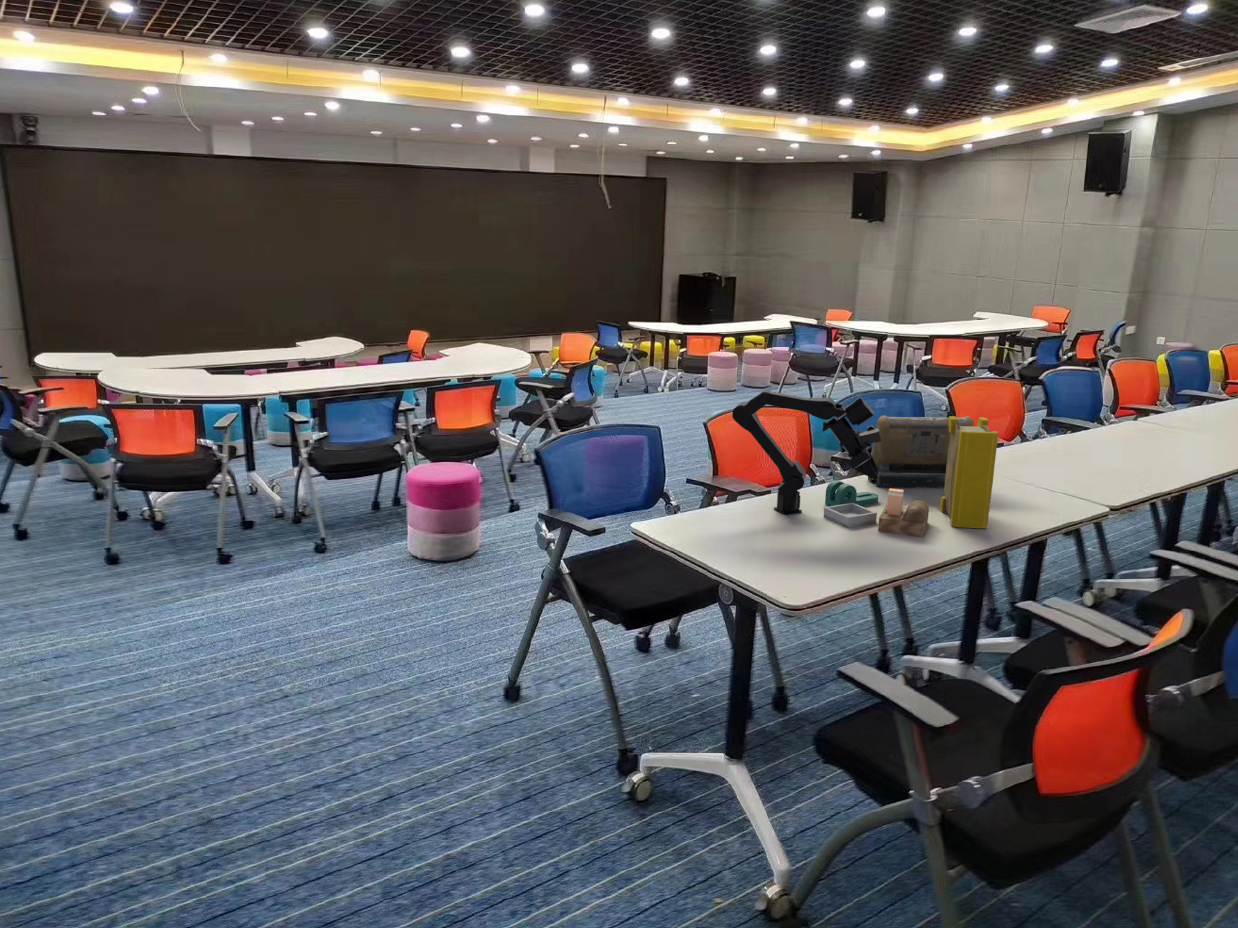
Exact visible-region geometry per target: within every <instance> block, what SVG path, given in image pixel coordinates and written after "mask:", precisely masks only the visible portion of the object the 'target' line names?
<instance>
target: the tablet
mask: <svg viewBox="0 0 1238 928" xmlns="http://www.w3.org/2000/svg"><path fill="white" fill-rule="evenodd" d="M957 419H958V423H960V426H971V427H974V424H975V422H974V419H973V418H972V417H971V416H968V415H966V416H964V417H963V416H962V417H957ZM876 422H877V423H876V428H878V429H879V431H880V434H881V438H882V439H881V440H882V441H880V442H875V443H872V452H871V455H872V457H873V459H874V461H875V464H876V466H877V468H878V471H877V472H875V473H876V475H877V477H878V479H877V480H876V485H875V487H877V488H892V489H944V487H945V476H946V466H947V456H948V449H949V442H950V436H951V433H950V432H949V424H948V422H949V417H937V416H936V417H934V416H928V417H927V416H926V417H925V416H923V417H922V416H917V417H916V416H911V417H910V416H909V417H908V416H905V417H904V416H903V417H901V416H899V417H898V416H887V415H880V417H879V418H878V420H877V421H876ZM876 428H875V429H876ZM867 480H868V482H872V481H873V479H871V478H870V477H868V476H867Z"/></svg>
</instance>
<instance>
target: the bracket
mask: <svg viewBox="0 0 1238 928" xmlns="http://www.w3.org/2000/svg"><path fill="white" fill-rule="evenodd" d="M848 503H854V504H857V505H859V506H862V507H865V506H869V505H870V506H871V505H875V504H876V505H877V504H878V503H879V494H877V493H875V492H869V491H859V492H857V488H856V487H855V486H854V485H850V484H848V483H844V482H842V481H840V480H836V479H835V480H832V481H830V482H829V483H828V484H827V487H826V489H825V501H824V504H825V506H826V507H830V506H836V505H842V504H848Z"/></svg>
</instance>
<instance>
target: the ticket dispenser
mask: <svg viewBox="0 0 1238 928" xmlns="http://www.w3.org/2000/svg"><path fill="white" fill-rule="evenodd" d="M929 512H930V511H929V506H928V504H927V503H926V502H924V501H923V500H913V501H912V502H911V503H909V504H906V506H902V516H899V515H891V514H887V504H886V505H885V506H884V509H883V510H882V512H881V514H880V516H879V517H878V525H877V526H878V528H877V531H878V532H882V533H883V532H884V533H891V534H898V535H904V536H905V535H906V536H910V537H911V536H912V537H920V538H923V535H924V533H925V531H926V528H927V525H928V521H929Z"/></svg>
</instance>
